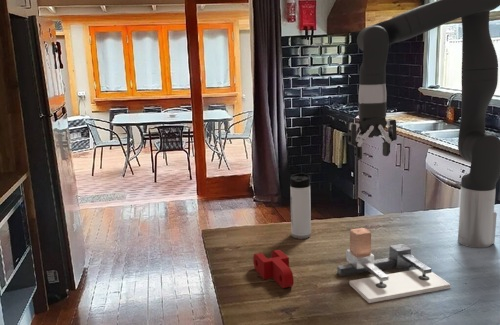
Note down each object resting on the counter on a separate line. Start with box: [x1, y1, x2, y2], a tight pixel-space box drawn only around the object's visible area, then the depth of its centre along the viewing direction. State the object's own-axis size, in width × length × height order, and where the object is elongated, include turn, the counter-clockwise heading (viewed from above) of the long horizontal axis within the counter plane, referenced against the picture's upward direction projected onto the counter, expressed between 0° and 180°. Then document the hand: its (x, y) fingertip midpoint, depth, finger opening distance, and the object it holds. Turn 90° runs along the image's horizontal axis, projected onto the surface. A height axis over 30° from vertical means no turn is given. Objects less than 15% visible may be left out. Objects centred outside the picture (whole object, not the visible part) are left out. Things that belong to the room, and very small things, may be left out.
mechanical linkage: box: [252, 249, 295, 289], centre depth 129 cm, size 16×7×5 cm, turn 20°
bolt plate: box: [349, 268, 451, 304], centre depth 122 cm, size 22×10×1 cm, turn 105°
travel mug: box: [289, 172, 312, 240], centre depth 156 cm, size 6×7×20 cm
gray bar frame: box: [336, 243, 433, 277], centre depth 127 cm, size 22×14×5 cm, turn 105°
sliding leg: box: [345, 227, 389, 285], centre depth 125 cm, size 5×16×10 cm, turn 15°
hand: (372, 157), depth 140 cm, fingers open, 8 cm apart
